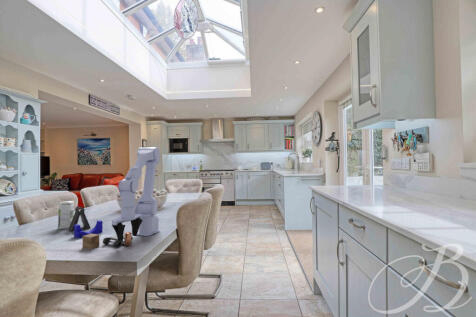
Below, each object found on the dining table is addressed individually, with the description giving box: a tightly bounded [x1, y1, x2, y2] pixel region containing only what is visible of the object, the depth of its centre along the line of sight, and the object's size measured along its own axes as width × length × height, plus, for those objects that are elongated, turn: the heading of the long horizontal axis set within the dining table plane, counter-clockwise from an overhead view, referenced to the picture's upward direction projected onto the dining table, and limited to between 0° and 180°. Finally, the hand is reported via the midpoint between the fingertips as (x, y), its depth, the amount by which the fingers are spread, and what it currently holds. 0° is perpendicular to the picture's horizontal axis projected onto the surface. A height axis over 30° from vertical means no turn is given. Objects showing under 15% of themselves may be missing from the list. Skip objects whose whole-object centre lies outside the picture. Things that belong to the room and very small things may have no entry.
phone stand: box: [68, 206, 91, 233], centre depth 135 cm, size 9×6×12 cm, turn 137°
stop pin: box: [121, 231, 132, 247], centre depth 109 cm, size 3×8×5 cm, turn 66°
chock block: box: [82, 233, 100, 250], centre depth 106 cm, size 4×5×5 cm
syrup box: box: [57, 200, 75, 230], centre depth 138 cm, size 6×6×14 cm
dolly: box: [102, 233, 134, 248], centre depth 110 cm, size 9×8×3 cm
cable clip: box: [73, 220, 104, 239], centre depth 124 cm, size 12×4×6 cm, turn 144°
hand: (127, 238), depth 108 cm, fingers open, 7 cm apart
